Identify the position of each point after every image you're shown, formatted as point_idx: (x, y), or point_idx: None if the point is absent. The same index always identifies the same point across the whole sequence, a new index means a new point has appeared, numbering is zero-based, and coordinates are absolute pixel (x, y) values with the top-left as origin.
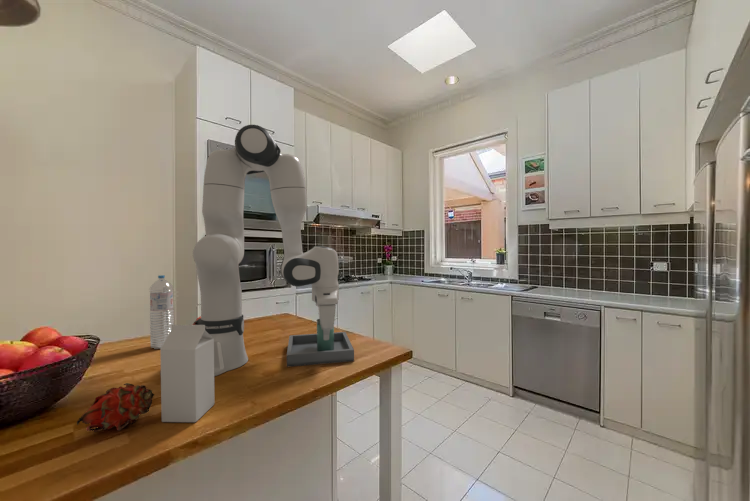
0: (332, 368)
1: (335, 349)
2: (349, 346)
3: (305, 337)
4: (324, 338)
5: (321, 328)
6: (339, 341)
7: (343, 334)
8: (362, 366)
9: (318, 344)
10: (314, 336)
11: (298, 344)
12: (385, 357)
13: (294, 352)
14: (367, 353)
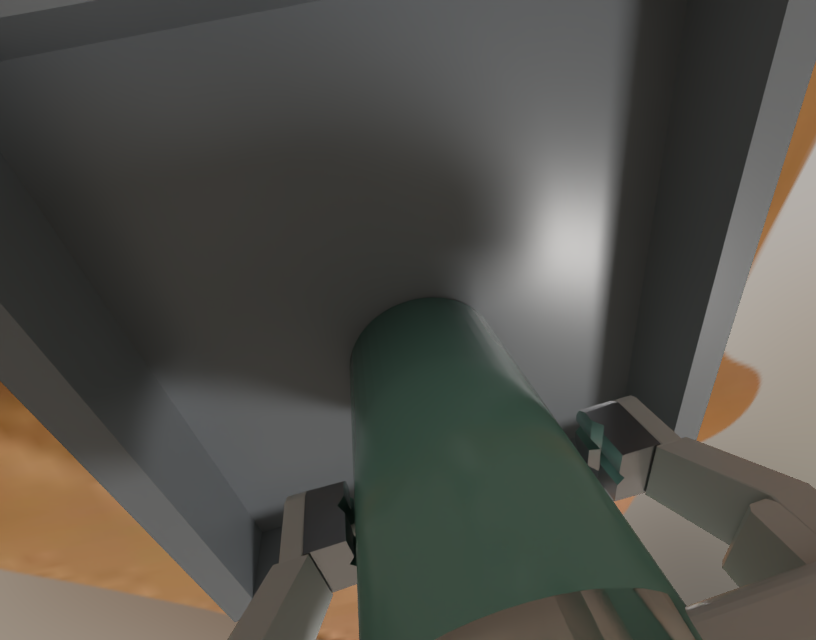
0: (71, 467)
1: None
2: None
3: (725, 124)
4: (287, 518)
5: (363, 612)
6: None
7: None
8: (172, 583)
9: (378, 361)
10: (705, 239)
11: (641, 33)
12: (328, 621)
13: (344, 38)
14: None
